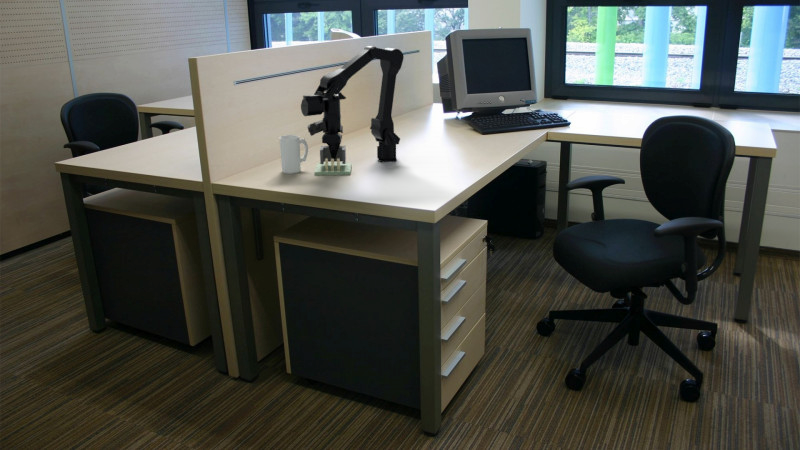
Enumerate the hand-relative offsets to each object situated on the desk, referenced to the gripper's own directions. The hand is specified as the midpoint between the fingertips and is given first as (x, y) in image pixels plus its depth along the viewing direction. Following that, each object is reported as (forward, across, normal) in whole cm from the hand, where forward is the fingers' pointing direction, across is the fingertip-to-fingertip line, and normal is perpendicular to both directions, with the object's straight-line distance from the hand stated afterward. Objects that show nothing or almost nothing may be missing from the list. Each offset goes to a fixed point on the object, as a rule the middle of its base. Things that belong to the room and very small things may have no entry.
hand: (333, 157), depth 230 cm
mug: (+4, +3, -13) cm, 14 cm away
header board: (+4, +3, 0) cm, 5 cm away
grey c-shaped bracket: (+1, +2, 0) cm, 2 cm away
